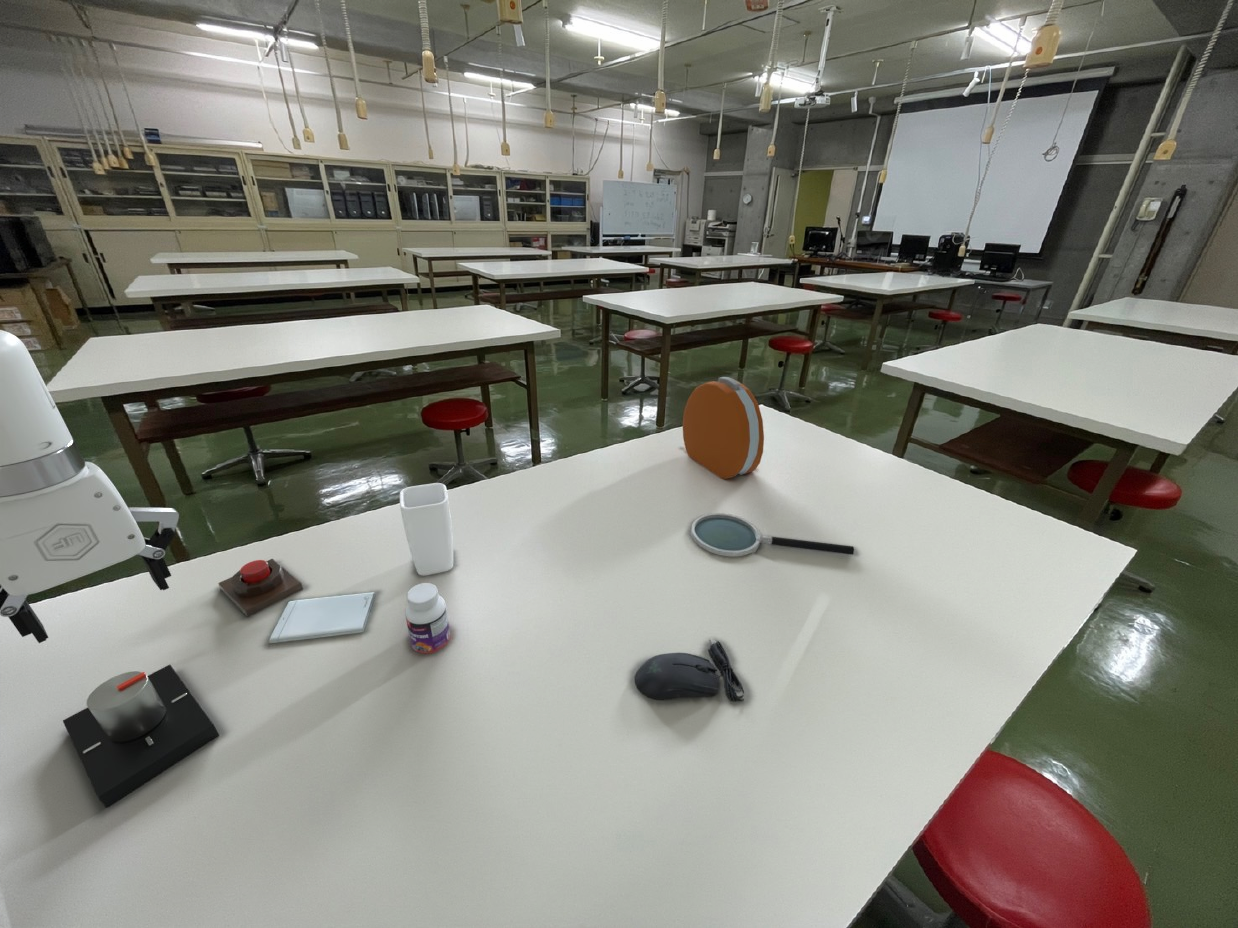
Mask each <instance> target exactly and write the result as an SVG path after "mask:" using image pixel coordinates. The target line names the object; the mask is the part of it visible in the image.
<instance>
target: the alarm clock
mask: <svg viewBox="0 0 1238 928" xmlns="http://www.w3.org/2000/svg"><path fill="white" fill-rule="evenodd" d="M682 439H683V444H684V448H685V451H686V454H687V455H688V457H689V458H690V459H692V460H693V461H694V462H696V463H697V464H699V465H701V466H702V467H703V468H705V469H706V470H708V471H709V472H711V473H713V474H714V475H715V476H717V477H718V478H720V479H722V480H728V479H731V478H734V477H737V476H738V475H740V476H742V475H745V474H749V473H752V472H753V471H756V470H757V468H758V466H759V465H760V464H761V461H762V457H763V453H764V443H765V433H764V420H763V416H762V412H761V409H760V405H759V402H758V401H757V399H756V398H755V396H754V394H753V393H752V391H751V389H750V388H748V387H747V386H746V385H744V384H743V383H741V382H740V381H738V380H736V379H734V378H732V377H729V376H722V377H718V379H717V381H714V380H713V381H707V382H705V383H703V384H700V385H698V386H696V387H695V388H694V390H693V391H692V392H691V394H690V395H689V397H688V398H687V401H686V405H685V407H684V411H683V418H682Z"/></svg>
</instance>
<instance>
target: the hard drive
mask: <svg viewBox="0 0 1238 928" xmlns="http://www.w3.org/2000/svg"><path fill="white" fill-rule="evenodd" d="M375 598H376V592H375V591H373V592H372V591H371V592H363V593H362V592H361V593H353V594H343V595H334V596H324V597H315V598H306V599H297V600H290V601H288V603H287V604H286V606H285V608H284V610H283V612H282V614H281V615H280V618H279V619H278V621H277V623H276V625H275V627H274V629H273V631H272V633H271V635H270V636H269V639H268V643H269V644H275V643H283V642H292V641H293V642H294V641H301V640H308V639H317V638H325V637H326V638H327V637H334V636H343V635H351V634H359V633H364V631H365V629H366V625H367V622H368V619H369V616H370V613H371V610H372V606H373V604H374V601H375Z"/></svg>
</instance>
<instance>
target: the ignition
mask: <svg viewBox="0 0 1238 928" xmlns="http://www.w3.org/2000/svg"><path fill="white" fill-rule="evenodd" d="M265 561H266V562H267V563H268V566H269V569H270V574H269V576H268V577H267V578H265V579H262V580H260V581H258V582H253V583H246V582H244V580H243V578H242V575H241V573H240V569H239V570H238V571H237V572H236V573H234V574H233V575H232V576H231V577H228V578H226V579H224V580H222V581H220V582H218V583H217V584H218V587H219V589H220V590H221V591H222V593H223V594H224V595H225V596H226V597H227V598H228V599H229V600H230V601H231V602H232V603H233V604H234V605H235V606H236V607H237V608H238V609H239V610H240V611H241V612H242V613H243V614H244V615H245V616H246V617H247V618H249V617H251V616H253V615H255V614H258V613H259V612H262V611H263V610H266V609H267V608H269V607H271V606H273V605H275V604H276V603H279V602H281V601H283V600H284V599H287V598H288V597H291V596H292V595H294V594H296V593H298V592H300V591H302V590H304V587H303V584H302V582H301V581H300V580H299V579H298V578H296V577H295V576H294V575H293V574H291V573H290V572H289V571H288V570H287V569H286V568H284V567H283V566H282V565H281V564H280V563H279V562H277V561H276V560H275V559H274V558H270V559H268V560H265Z"/></svg>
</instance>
